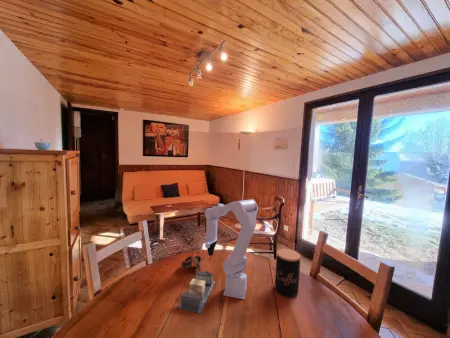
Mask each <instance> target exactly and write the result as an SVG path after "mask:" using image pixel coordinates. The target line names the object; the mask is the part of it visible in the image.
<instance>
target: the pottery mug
mask: <svg viewBox="0 0 450 338" xmlns="http://www.w3.org/2000/svg"><path fill="white" fill-rule="evenodd" d="M201 260H202V258H201V255H199V254H198V255H195V256H193V255H189V256H188V257H186V258H185V259H184V260H182V262H181V263H180V264H181V269H182V270H185V271H187V267H188V268H192V267H193V266H192V265H194V266H196V269H195V270H194V271H195V274H196V273H197V271H200V272H201V265H200V263H201Z"/></svg>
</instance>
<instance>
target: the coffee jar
mask: <svg viewBox="0 0 450 338" xmlns="http://www.w3.org/2000/svg"><path fill="white" fill-rule="evenodd" d="M300 268H301V254H300V253H299V252H297V251H296V250H294V249H289V248H280V249H278V250H277V251H276V261H275V276H274V277H275V279H274V288H275V290H276V292H277V293H278V295H281V296H282V297H286V298H294V297H296V296H297V295H298V293H299V285H300V272H301V270H300Z"/></svg>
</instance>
